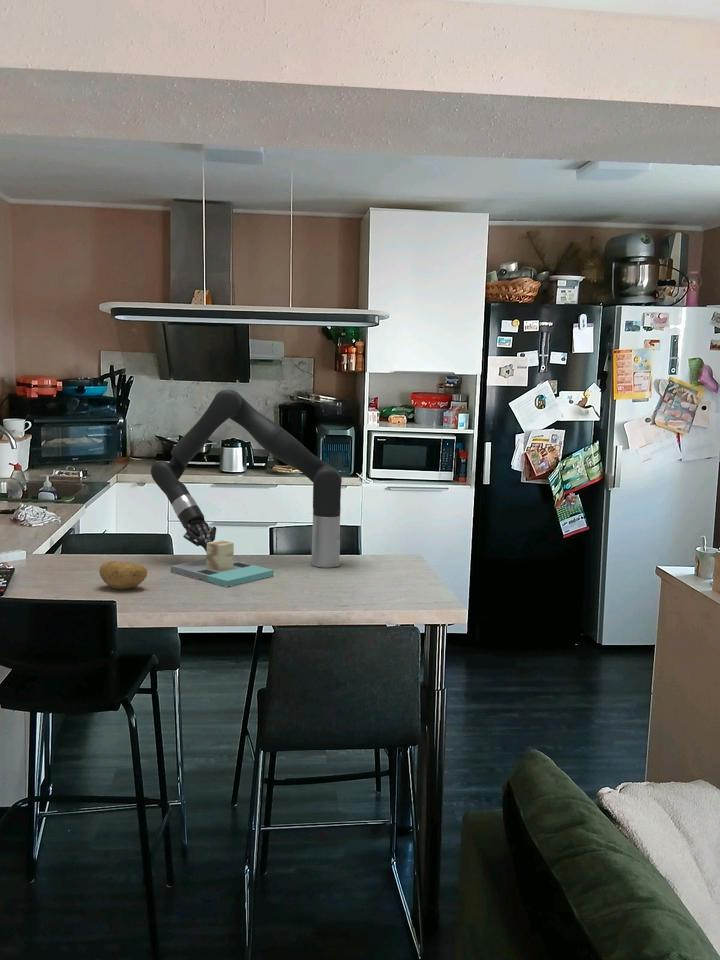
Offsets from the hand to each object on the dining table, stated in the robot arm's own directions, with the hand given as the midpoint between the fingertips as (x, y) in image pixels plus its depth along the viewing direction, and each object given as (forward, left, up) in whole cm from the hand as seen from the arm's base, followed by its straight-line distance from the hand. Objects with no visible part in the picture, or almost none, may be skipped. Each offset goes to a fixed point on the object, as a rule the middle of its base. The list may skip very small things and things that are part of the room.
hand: (212, 554), depth 279 cm
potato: (+25, +21, -6) cm, 33 cm away
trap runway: (-3, +3, -6) cm, 7 cm away
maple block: (-2, +3, -4) cm, 5 cm away
